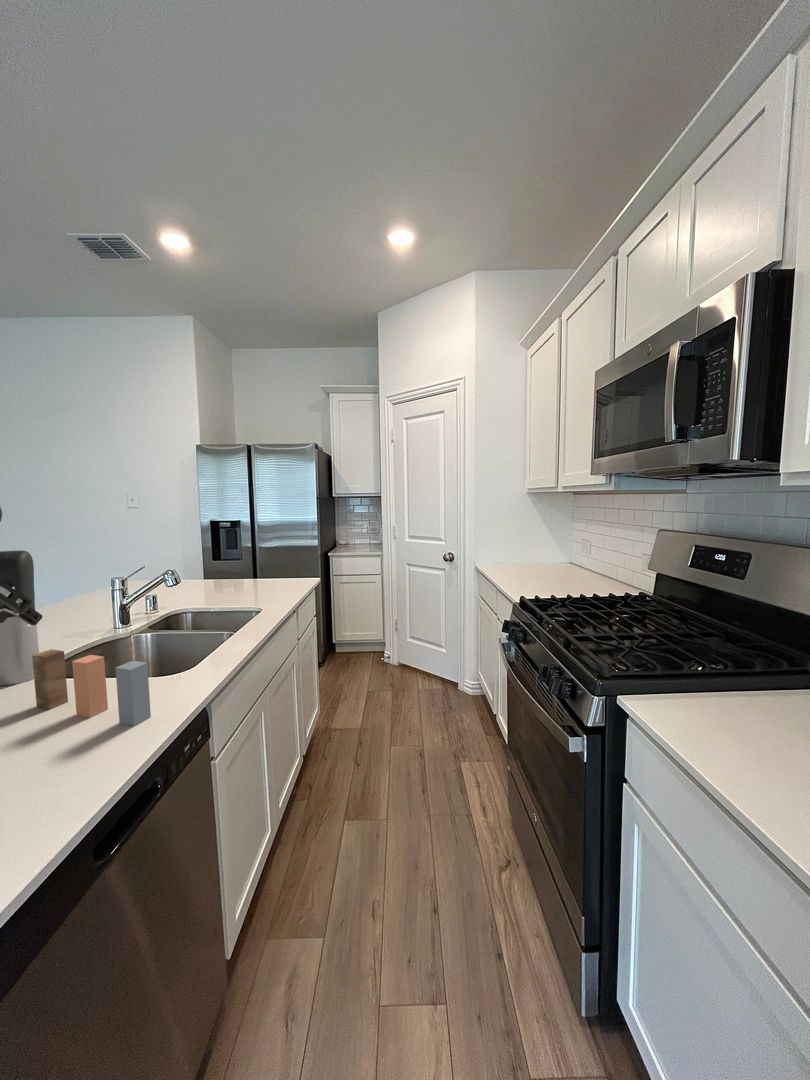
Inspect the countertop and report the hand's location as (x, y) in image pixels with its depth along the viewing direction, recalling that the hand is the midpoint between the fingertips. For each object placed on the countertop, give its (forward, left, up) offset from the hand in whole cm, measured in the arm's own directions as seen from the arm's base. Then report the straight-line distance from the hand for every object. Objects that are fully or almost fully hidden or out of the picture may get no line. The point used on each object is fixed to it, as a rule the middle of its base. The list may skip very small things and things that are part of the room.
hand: (21, 619), depth 83 cm
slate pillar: (+4, +16, -24) cm, 29 cm away
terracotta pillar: (-6, +10, -24) cm, 27 cm away
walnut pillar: (-16, +4, -24) cm, 29 cm away
